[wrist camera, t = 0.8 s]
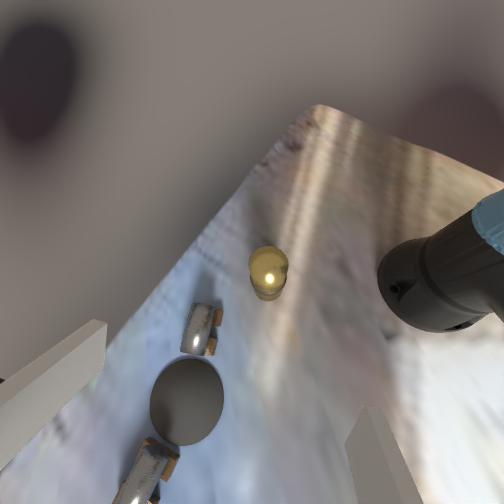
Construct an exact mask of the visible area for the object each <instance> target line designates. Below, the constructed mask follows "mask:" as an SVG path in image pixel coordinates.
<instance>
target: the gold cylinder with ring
mask: <svg viewBox="0 0 504 504" xmlns="http://www.w3.org/2000/svg"><path fill="white" fill-rule="evenodd" d="M249 270H250V280H251V284H252V286H253V288H254V291H255V293H256V295H257V296H258V297H259V298H260V299H262V300H264V301H272V300H275V299H277V298H278V297H279V296H280V294H281V292H282V289H283V288H284V286H285V283H286V279H287V271H288V259H287V257H286V255H285V254H284V252H283V251H281V250H280V249H278V248H276V247H273V246H264V247H261V248H259V249H257V250H256V251H255V252H254V253H253V254H252V255H251V257H250V260H249Z"/></svg>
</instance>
